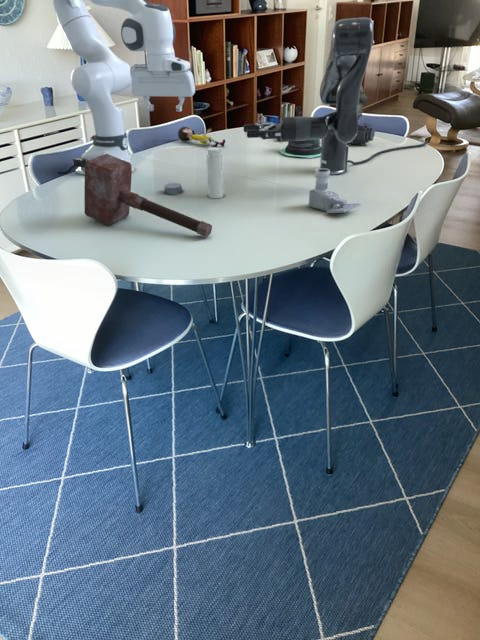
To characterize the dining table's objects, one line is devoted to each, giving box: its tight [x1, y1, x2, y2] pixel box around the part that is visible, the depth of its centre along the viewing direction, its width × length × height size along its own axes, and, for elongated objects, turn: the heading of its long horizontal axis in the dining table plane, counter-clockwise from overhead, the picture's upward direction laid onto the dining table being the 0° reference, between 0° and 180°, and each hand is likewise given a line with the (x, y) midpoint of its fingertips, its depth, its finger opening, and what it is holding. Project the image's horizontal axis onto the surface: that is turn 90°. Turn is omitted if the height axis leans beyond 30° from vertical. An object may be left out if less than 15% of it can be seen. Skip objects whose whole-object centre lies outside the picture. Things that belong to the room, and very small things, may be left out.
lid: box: [164, 182, 183, 196], centre depth 191 cm, size 6×6×2 cm
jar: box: [206, 146, 224, 199], centre depth 183 cm, size 5×5×16 cm
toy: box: [350, 122, 376, 146], centre depth 244 cm, size 9×9×15 cm
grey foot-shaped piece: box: [308, 167, 361, 214], centre depth 169 cm, size 9×12×15 cm
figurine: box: [177, 126, 226, 147], centre depth 251 cm, size 13×8×25 cm
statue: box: [358, 84, 368, 121], centre depth 262 cm, size 11×9×30 cm
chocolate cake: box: [279, 139, 321, 159], centre depth 234 cm, size 15×19×20 cm
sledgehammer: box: [83, 154, 213, 238], centre depth 159 cm, size 17×10×40 cm
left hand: (165, 111), depth 178 cm, fingers open, 8 cm apart
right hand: (245, 131), depth 178 cm, fingers open, 8 cm apart
